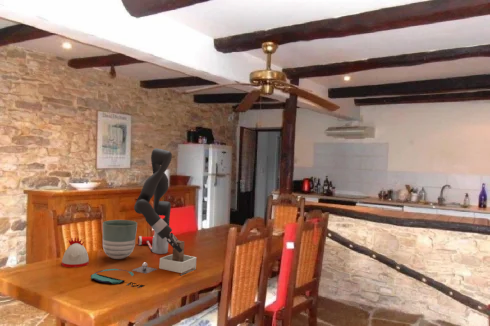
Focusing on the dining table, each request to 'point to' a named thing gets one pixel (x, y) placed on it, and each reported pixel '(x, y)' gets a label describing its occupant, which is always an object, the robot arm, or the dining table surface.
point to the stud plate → (144, 269)
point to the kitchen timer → (75, 255)
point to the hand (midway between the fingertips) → (181, 249)
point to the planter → (119, 238)
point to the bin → (178, 264)
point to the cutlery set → (110, 278)
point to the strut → (176, 254)
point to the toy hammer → (145, 241)
